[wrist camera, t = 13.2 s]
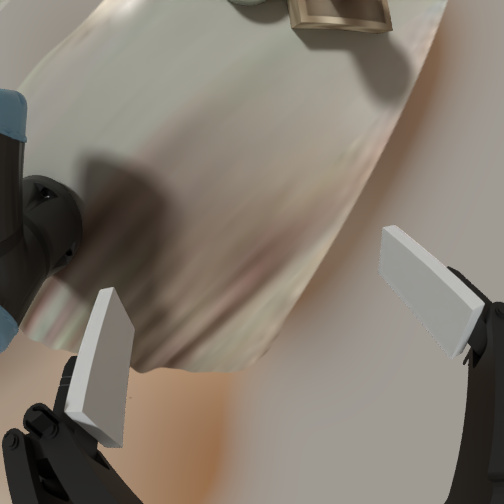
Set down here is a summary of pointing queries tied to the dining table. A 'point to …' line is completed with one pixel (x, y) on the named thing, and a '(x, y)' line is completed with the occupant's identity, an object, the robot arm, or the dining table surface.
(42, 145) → the dining table surface
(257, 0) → the pale green ball
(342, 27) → the maple open box
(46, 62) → the dining table surface
